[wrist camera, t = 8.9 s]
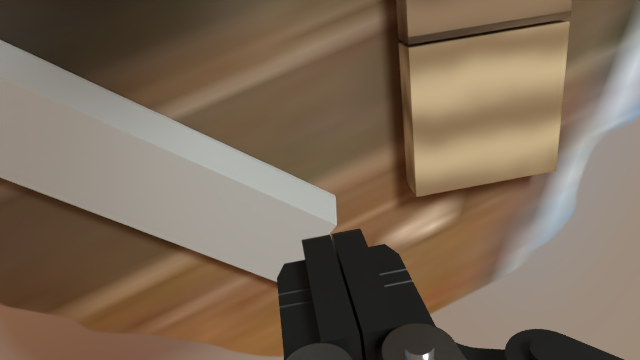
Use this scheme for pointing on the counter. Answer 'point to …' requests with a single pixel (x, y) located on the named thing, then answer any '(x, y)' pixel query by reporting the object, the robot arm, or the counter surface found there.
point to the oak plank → (482, 106)
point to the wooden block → (471, 16)
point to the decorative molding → (150, 170)
